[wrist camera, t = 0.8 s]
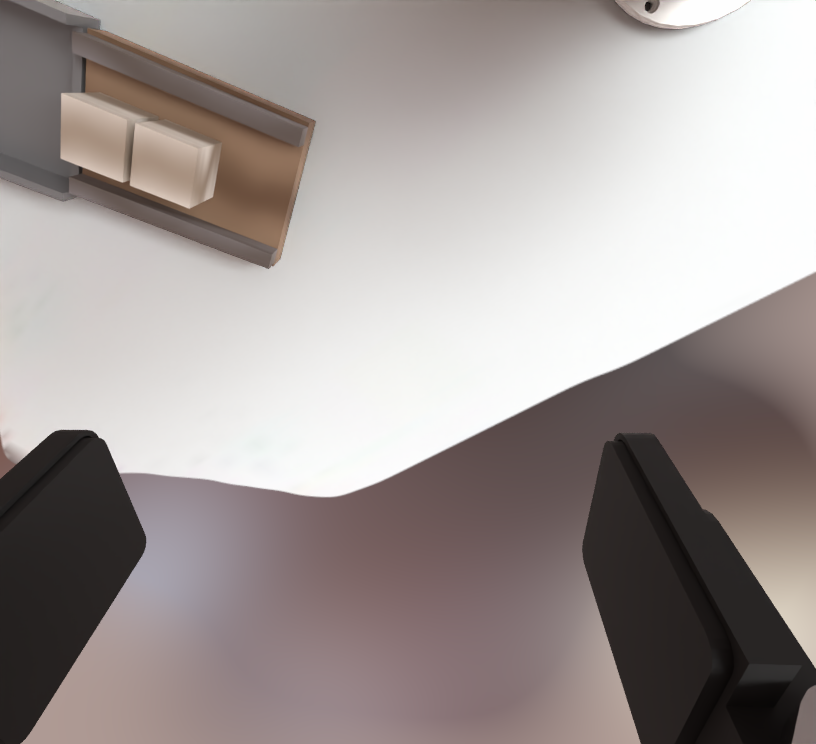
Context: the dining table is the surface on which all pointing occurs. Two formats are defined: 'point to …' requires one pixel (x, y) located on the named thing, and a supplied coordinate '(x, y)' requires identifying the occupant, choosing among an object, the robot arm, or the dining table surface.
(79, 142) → the chip
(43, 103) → the tray
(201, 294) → the dining table surface
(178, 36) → the dining table surface
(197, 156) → the chip
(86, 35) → the groove board
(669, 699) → the robot arm
